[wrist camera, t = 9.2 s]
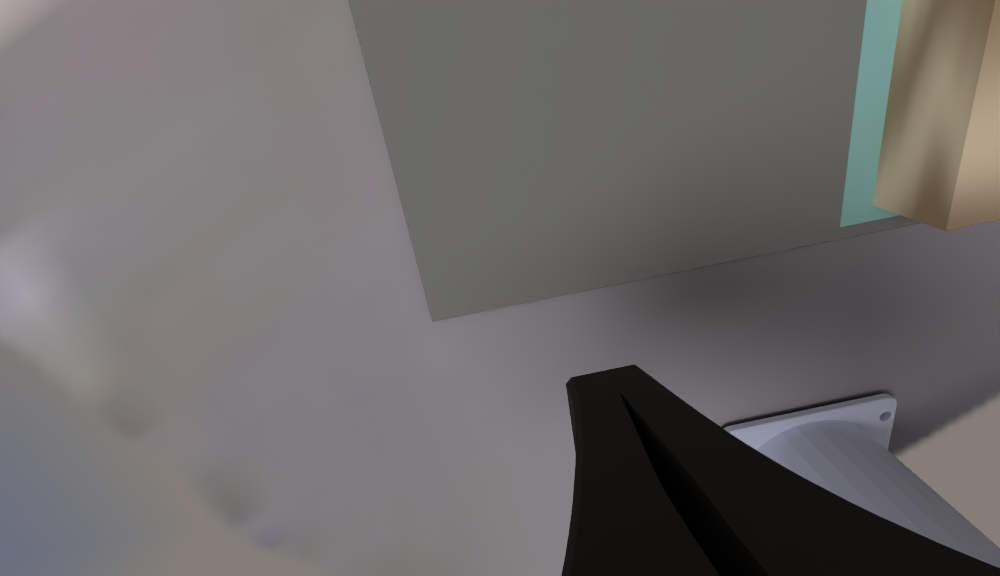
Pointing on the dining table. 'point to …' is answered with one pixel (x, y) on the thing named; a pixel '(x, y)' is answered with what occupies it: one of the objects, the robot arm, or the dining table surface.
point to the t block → (943, 115)
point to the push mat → (624, 135)
